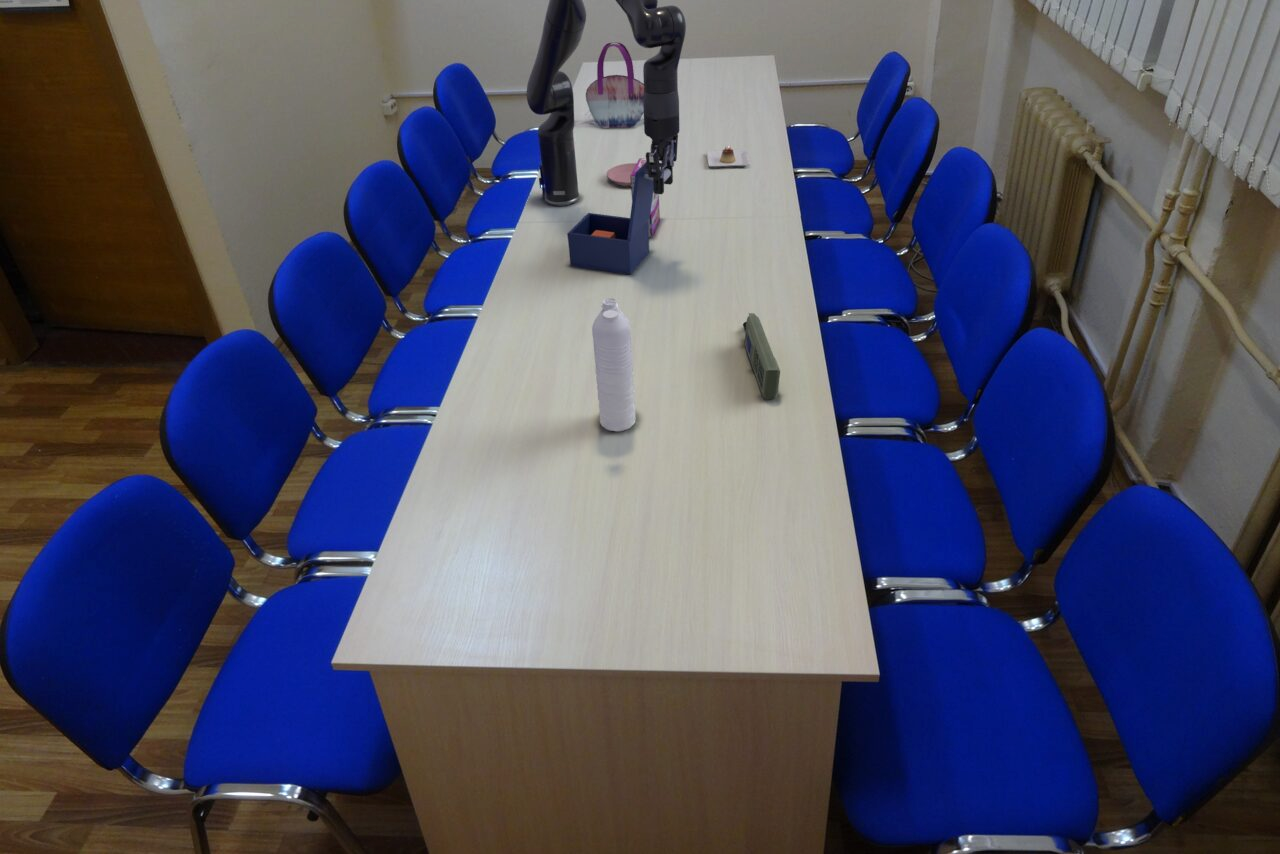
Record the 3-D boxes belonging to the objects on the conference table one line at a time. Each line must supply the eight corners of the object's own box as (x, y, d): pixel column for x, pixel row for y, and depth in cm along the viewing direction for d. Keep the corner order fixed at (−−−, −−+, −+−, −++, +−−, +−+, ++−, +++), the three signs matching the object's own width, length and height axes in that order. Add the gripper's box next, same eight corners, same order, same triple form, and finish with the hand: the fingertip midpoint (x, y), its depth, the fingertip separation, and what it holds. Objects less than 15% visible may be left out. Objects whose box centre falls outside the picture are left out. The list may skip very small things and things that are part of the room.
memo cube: (588, 257, 206) (587, 238, 203) (597, 248, 209) (595, 229, 206) (607, 260, 204) (606, 241, 201) (616, 251, 208) (614, 232, 205)
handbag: (583, 128, 281) (577, 48, 265) (587, 118, 288) (581, 39, 273) (648, 127, 279) (646, 46, 263) (650, 117, 286) (648, 38, 271)
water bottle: (599, 411, 158) (589, 292, 143) (634, 409, 158) (628, 289, 143) (600, 441, 151) (590, 319, 136) (637, 438, 151) (630, 316, 136)
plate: (665, 174, 247) (665, 168, 245) (639, 192, 237) (639, 185, 236) (624, 166, 253) (624, 160, 252) (597, 183, 244) (596, 176, 242)
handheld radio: (760, 400, 159) (737, 329, 178) (778, 399, 159) (752, 329, 179) (764, 370, 155) (739, 301, 174) (782, 369, 155) (755, 301, 175)
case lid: (635, 172, 184) (659, 178, 182) (655, 152, 192) (677, 158, 191) (627, 239, 194) (649, 246, 193) (646, 218, 203) (667, 224, 202)
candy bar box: (641, 218, 224) (638, 157, 214) (660, 219, 223) (658, 158, 213) (632, 237, 215) (629, 174, 205) (652, 238, 214) (649, 175, 204)
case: (570, 265, 205) (567, 233, 199) (591, 243, 213) (588, 212, 208) (630, 274, 200) (628, 242, 195) (649, 252, 208) (648, 220, 203)
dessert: (749, 168, 248) (750, 151, 245) (708, 169, 248) (708, 153, 246) (746, 153, 257) (746, 137, 255) (706, 154, 258) (706, 138, 255)
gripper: (656, 99, 186) (658, 174, 196) (632, 120, 176) (635, 199, 186) (689, 102, 184) (689, 178, 194) (666, 123, 173) (668, 203, 184)
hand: (663, 188), depth 190 cm, fingers closed on case lid, 5 cm apart
